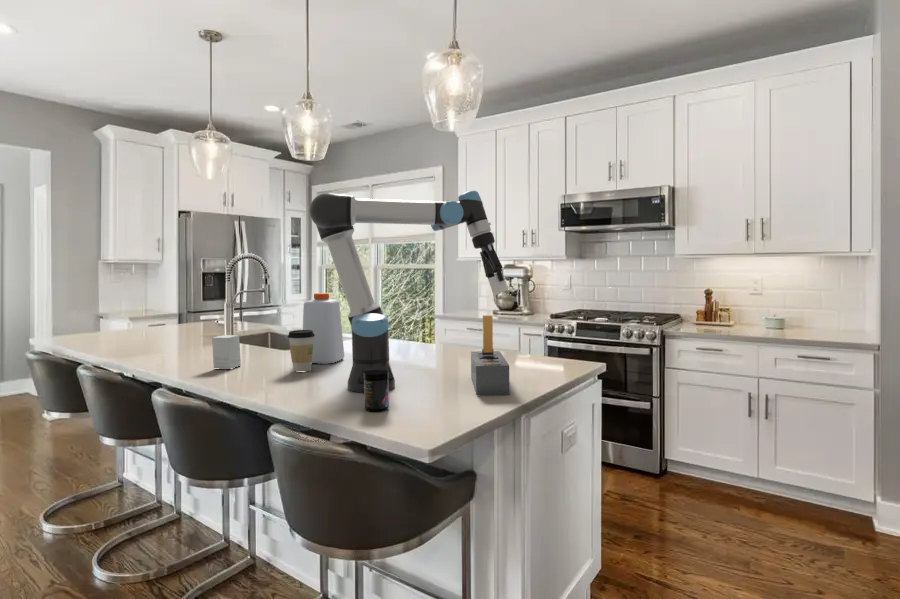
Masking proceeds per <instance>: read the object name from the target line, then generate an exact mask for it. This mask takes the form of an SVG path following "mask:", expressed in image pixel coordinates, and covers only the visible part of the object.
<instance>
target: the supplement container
mask: <svg viewBox="0 0 900 599" xmlns="http://www.w3.org/2000/svg"><path fill="white" fill-rule="evenodd" d="M388 378H389V377H388V371H387V370H369V371H365V372H364V392H363V393H364V395H363V396H364V409H365V411H367V412H370V413H381V412H385V411H387V410H388V409H389V406H390V395H389V393H390V392H389V391H390V390H389V386H388Z"/></svg>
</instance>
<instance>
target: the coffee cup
mask: <svg viewBox="0 0 900 599" xmlns="http://www.w3.org/2000/svg"><path fill="white" fill-rule="evenodd" d="M314 336H315V335H314V333H313V331H312V330H303V329H297V330H289V332H288V334H287V338H288V340H289V345H288V346H289V353H290V356H291V357H290V358H291V363H292V368H293V369H292V370H293V372H294V371H309V370H312V364H311V362H312V355H313V338H314ZM309 372H310V371H309Z"/></svg>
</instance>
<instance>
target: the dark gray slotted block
mask: <svg viewBox="0 0 900 599" xmlns="http://www.w3.org/2000/svg"><path fill="white" fill-rule="evenodd" d="M470 378H471V381H472V385H473V388H474V392H476V393H475V395H480V396H509V395H510V364H509V363H508V361H507V360H506V358H505V357H504V356H503V354H502V352H501V351H500V350H494V354H493V355H482V350H478V351H470Z"/></svg>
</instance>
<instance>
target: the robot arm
mask: <svg viewBox="0 0 900 599" xmlns="http://www.w3.org/2000/svg"><path fill="white" fill-rule="evenodd" d="M457 200H458V201H456V200H447V201H434V200H433V201H432V200H431V201H430V200H407V199H406V200H404V199H403V200H402V199H377V198H375V199H372V198H371V199H370V198H356V197H355V196H354V195H352V194H351V195H350V194H349V195H348V194H339V193H338V194H337V193H332V192H331V193H330V192H324V193H321V194H319V195H316V197H314V198H313V200H311V202H310V205H309V216H310V218H311V220H312V222H313V223H314V224H315V226H316V229H317V232H318V234H319V237H320V241H321V242H324V243H326V244H327V247H328V249H329V252H330V256H331V259H332V260H333V263H334V267H335V270H336V273H337V275H338V279H339V281H340V285H341V286H342V287H341V288H342V291H343V293H344V296H345V299H346V302H347V304H348V308H349V310H350V311H349V313H348V315H347V318H348V321H349V324H350V328H351V344H352V345H351V346H352V347H351V348H352V350H351V351H352V352H351V353H352V355H351V356H352V367H351V369H350V371H349V372H350V373H349V377H348V379H347V389H348V390H349V391H351V392H353V393H354V392H355V393H364V372H365V371H369V370H387V371H388V377H389V378H388V386H389V391H390V390H392V389H394V388H395V387H396V379H395V377H394V373H393V370H392V368H391V365H390V344H389V343H390V340H389V337H390V336H389V337H388V335H389V328H390V323H389V319H388V316H386V315H384V314H383V311H382V308H381V305H380V304H378V303H376V302H375V301H374V298H373V294H372V291H371V289H370V286H369V283H368V279H367V276H366V275H365V271H364V269H363V266H362V263H361V259H360V256H359V254H358V250H357V247H356V244H355V242H354V239H353V234H354V232H355V227H354V225H356V224H381V225H382V224H388V225H389V224H390V225H392V224H393V225H426V226H429V225H430V226H431V229H432V230H433V231H434V232H437V231H441V230H442V231H443V230H445V229H448V228H452V227H454V226H457V225H461V224H464V223H465V224H466V227H467V230H468V233H469V235H470V238H471V241H472V245H473V248H474V249H481V251H480V252H479V255H480V258H481V260H482V261H481V262H482V266H483V270H484V273H485V277H486V278H487V280H488V283H489V286H490V288H491V292H492V295H493V296H496V295H500V294H502V293H503V292H506V291H509V288H508V285H507V282H506V278H505V276H504V272H503V264H502V263H501V261H500V259H499V256H498V254H497V253H496V250H495V247H494V243H495V242H496V241H495V238H494V235H493V232H492V229H491V225H492V224H491V222H489V220H488V217H487V214H486V213H487V212H486V210H485V207H484V203H483V200H482V199H481V196H480V194H479V192H478V191H477V190H468V191H466V192H464V193H461V194H459V196H458V198H457Z"/></svg>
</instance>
